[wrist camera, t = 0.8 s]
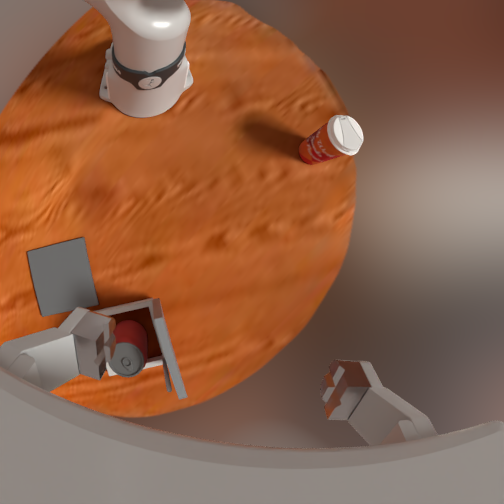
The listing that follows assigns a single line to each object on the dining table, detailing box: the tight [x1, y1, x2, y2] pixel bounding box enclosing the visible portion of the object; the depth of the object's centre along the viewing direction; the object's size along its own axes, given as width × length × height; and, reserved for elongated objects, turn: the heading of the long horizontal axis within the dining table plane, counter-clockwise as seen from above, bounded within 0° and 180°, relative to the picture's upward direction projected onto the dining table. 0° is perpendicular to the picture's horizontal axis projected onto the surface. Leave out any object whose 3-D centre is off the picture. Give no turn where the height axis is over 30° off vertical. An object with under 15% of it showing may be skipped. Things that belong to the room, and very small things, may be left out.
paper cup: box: [299, 115, 363, 165], centre depth 53 cm, size 8×8×14 cm
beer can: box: [108, 320, 148, 377], centre depth 43 cm, size 7×7×12 cm
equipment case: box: [94, 298, 187, 399], centre depth 41 cm, size 12×14×16 cm
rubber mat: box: [27, 237, 99, 317], centre depth 44 cm, size 12×12×1 cm
